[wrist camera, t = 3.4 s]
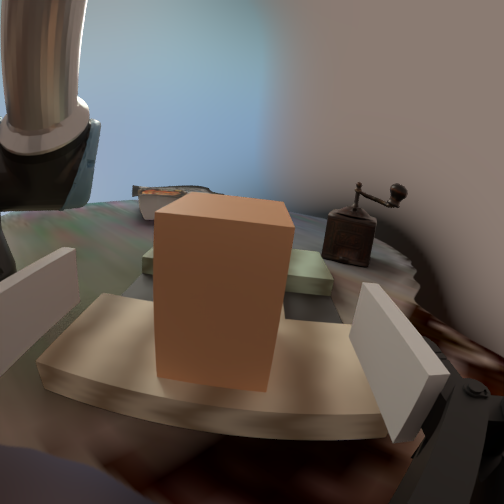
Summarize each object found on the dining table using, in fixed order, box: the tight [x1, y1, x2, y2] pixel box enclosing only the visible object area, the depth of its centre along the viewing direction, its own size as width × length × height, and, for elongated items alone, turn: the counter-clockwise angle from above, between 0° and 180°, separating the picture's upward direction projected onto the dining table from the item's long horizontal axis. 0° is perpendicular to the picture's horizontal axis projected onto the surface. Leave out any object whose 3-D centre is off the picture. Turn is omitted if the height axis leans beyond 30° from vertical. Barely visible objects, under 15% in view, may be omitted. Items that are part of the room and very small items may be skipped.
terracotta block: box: [153, 192, 295, 392], centre depth 24 cm, size 8×10×12 cm
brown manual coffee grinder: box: [321, 182, 408, 267], centre depth 64 cm, size 16×11×18 cm
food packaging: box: [132, 185, 224, 220], centre depth 89 cm, size 25×8×23 cm
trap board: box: [36, 248, 388, 440], centre depth 39 cm, size 28×40×3 cm
